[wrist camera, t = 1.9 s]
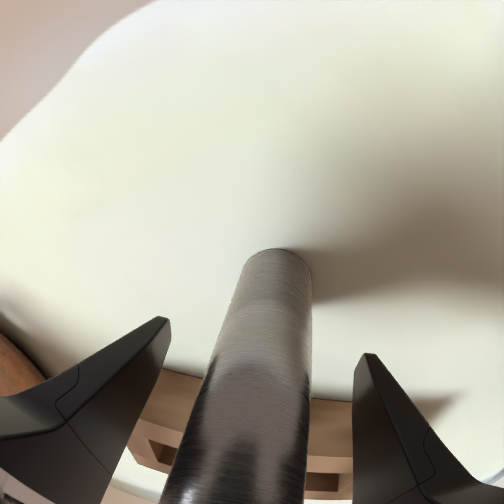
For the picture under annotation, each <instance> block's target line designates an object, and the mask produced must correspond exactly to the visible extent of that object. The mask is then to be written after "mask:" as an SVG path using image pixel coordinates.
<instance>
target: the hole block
mask: <svg viewBox="0 0 504 504" xmlns="http://www.w3.org/2000/svg"><path fill="white" fill-rule="evenodd" d="M202 380H203V379H200V378H196V377H192V376H188V375H184V374H180V373H177V372H173V371H170V370H166V369H163V368H161V371H160V374H159V377H158V379H157V382H156V384H155V386H154V388H153V390H152V392H151V394H150V396H149V398H148V400H147V402H146V404H145V407H144V409H143V411H142V413H141V415H140V417H139V419H138V421H137V423H136V426H135V428H134V430H133V432H132V434H131V436H130V438H129V440H128V443H127V447H128V449H129V450H130V452H131V454H132V455H133V457H134V459H135V460H136V462H137V463H138V464H140V465H143V466H145V467H148V468H151V469H154V470H157V471H160V472H163V473H166V474H169V472H170V470H171V467H172V464H173V461H174V458H175V456H176V453H177V450H178V447H179V444H180V442H181V439H182V436H183V433H184V430H185V428H186V425H187V422H188V419H189V417H190V414H191V411H192V408H193V405H194V403H195V400H196V397H197V394H198V392H199V389H200V386H201V383H202ZM304 499H314V500H352V499H353V440H352V402H342V401H330V400H320V399H311V405H310V427H309V444H308V459H307V472H306V483H305V494H304Z"/></svg>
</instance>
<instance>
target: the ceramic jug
mask: <svg viewBox="0 0 504 504" xmlns="http://www.w3.org/2000/svg"><path fill="white" fill-rule="evenodd" d="M44 381H46V379H45V378H44V377H43V375H42V374H41V373H40V371H39V370H38V369H37V368H36V367H35V365H34V364H33V363H32V362H31V361H30V360H29V359H28V358H27V357H26V356H25V355H24V354H23V353H22V352H21V351H20V350H19V349H18V348H17V347H16V346H15V345H14V344H13V343H12V342H11V341H9V340H8V339H7V338H6V337H5V336H3V335H2V334H1V333H0V396H8V395H13V394H17V393H19V392H22V391H24V390H26V389H28V388H31V387H33V386H35V385H37V384H40V383H42V382H44Z"/></svg>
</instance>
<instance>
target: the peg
mask: <svg viewBox="0 0 504 504" xmlns="http://www.w3.org/2000/svg"><path fill="white" fill-rule="evenodd" d="M311 373H312V286H311V274H310V271H309V268H308V267H307V265H306V263H305V262H304V261H303V260H302V259H301V258H300V257H298V256H297V255H295V254H293V253H291V252H289V251H286V250H281V249H269V250H264V251H261V252H258V253H257V254H255V255H253V256H252V257H251V258H250V259H249V260H248V261H247V262H246V263H245V265H244V267H243V270H242V273H241V276H240V278H239V281H238V284H237V287H236V289H235V292H234V295H233V298H232V300H231V303H230V306H229V309H228V311H227V314H226V317H225V320H224V322H223V325H222V328H221V331H220V333H219V336H218V339H217V342H216V344H215V347H214V350H213V353H212V356H211V358H210V361H209V364H208V367H207V369H206V372H205V375H204V378H203V380H202V383H201V386H200V389H199V392H198V394H197V397H196V400H195V403H194V405H193V408H192V411H191V414H190V417H189V419H188V422H187V425H186V428H185V430H184V433H183V436H182V439H181V442H180V444H179V447H178V450H177V453H176V456H175V458H174V461H173V464H172V467H171V470H170V472H169V475H168V478H167V481H166V484H165V486H164V489H163V492H162V495H161V498H160V500H159V503H158V504H304V494H305V483H306V472H307V459H308V444H309V427H310V405H311Z"/></svg>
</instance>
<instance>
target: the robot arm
mask: <svg viewBox="0 0 504 504" xmlns="http://www.w3.org/2000/svg"><path fill="white" fill-rule="evenodd" d="M170 342H171V326H170V320H169V319H168V318H165V317H161V316H157V317H155V318H153V319H151V320H150V321H148V322H146V323H145V324H143V325H141V326H140V327H138V328H136V329H135V330H133V331H131V332H130V333H128V334H126V335H125V336H123V337H121V338H120V339H118V340H116V341H115V342H113V343H111V344H110V345H108V346H106V347H105V348H103V349H101V350H100V351H98V352H96V353H95V354H93V355H91V356H90V357H88V358H86V359H85V360H83V361H81V362H80V363H79V364H76V365H74V366H73V367H71V368H69V369H67V370H66V371H64V372H62V373H60V374H58V375H56V376H54V377H52V378H50V379H48V380H46V381H44V382H42V383H40V384H37V385H35V386H33V387H31V388H28V389H26V390H24V391H22V392H19V393H17V394H13V395H8V396H0V504H100V503H101V501H102V498H103V496H104V494H105V491H106V489H107V487H108V485H109V482H110V480H111V478H112V475H113V473H114V471H115V469H116V467H117V464H118V462H119V460H120V458H121V456H122V453H123V451H124V449H125V447H126V445H127V443H128V440H129V438H130V436H131V434H132V432H133V430H134V428H135V426H136V423H137V421H138V419H139V417H140V415H141V413H142V411H143V409H144V407H145V404H146V402H147V400H148V398H149V396H150V394H151V392H152V390H153V388H154V386H155V384H156V382H157V379H158V377H159V374H160V371H161V368H162V365H163V362H164V359H165V356H166V354H167V351H168V348H169V345H170ZM352 440H353V499H352V504H504V488H500V487H496V486H492V485H488V484H485V483H482V482H480V481H478V480H477V479H475V478H474V477H473V476H472V475H471V474H470V473H469V472H468V471H467V470H466V469H465V468H464V466H463V465H462V464H461V463H460V462H459V461H458V460H457V459H456V457H455V456H454V455H453V454H452V453H451V452H450V451H449V449H448V448H447V447H446V446H445V445H444V444H443V442H442V441H441V440H440V438H439V437H438V436H437V434H436V433H435V432H434V430H433V429H432V428H431V426H429V424H428V422H427V421H426V420H425V418H424V417H423V415H422V414H421V413H420V411H419V410H418V409H417V407H416V406H415V405H414V403H413V402H412V401H411V399H410V398H409V397H408V395H407V394H406V393H405V391H404V390H403V389H402V388H401V386H400V385H399V384H398V382H397V381H396V380H395V378H394V377H393V376H392V374H391V373H390V372H389V371H388V369H387V368H386V367H385V365H384V364H383V363H382V362H381V360H380V359H379V358H378V356H377V355H376V354H372V353H364V354H363V355H362V357H361V358H360V360H359V362H358V364H357V366H356V368H355V371H354V382H353V400H352Z"/></svg>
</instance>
